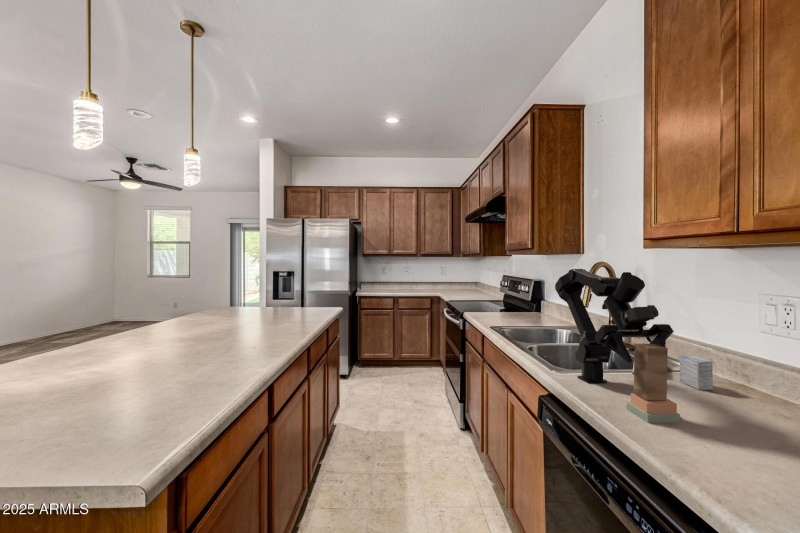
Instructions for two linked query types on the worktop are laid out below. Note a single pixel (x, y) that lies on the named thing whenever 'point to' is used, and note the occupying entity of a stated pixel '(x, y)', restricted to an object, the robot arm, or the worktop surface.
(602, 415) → the worktop surface
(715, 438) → the worktop surface
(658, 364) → the walnut block
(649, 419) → the tower base
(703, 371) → the medicine box
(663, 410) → the tower top
